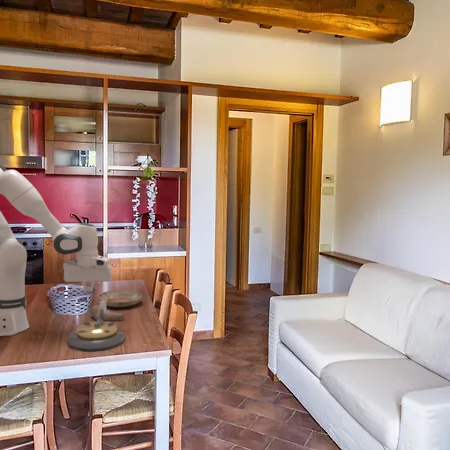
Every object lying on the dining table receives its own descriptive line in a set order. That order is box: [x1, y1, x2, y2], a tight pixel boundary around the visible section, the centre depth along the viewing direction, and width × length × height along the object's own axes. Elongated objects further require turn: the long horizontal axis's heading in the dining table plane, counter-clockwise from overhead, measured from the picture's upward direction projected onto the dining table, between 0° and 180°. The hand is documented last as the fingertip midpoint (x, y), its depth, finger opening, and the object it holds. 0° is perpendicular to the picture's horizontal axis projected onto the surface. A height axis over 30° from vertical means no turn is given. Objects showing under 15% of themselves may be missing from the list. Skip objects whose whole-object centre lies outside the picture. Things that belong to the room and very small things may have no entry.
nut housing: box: [68, 326, 125, 352], centre depth 179 cm, size 22×22×3 cm
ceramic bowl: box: [97, 289, 143, 308], centre depth 233 cm, size 23×24×5 cm
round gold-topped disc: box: [75, 300, 118, 341], centre depth 182 cm, size 23×16×10 cm
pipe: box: [89, 304, 126, 322], centre depth 208 cm, size 6×17×10 cm
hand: (88, 291), depth 190 cm, fingers closed
